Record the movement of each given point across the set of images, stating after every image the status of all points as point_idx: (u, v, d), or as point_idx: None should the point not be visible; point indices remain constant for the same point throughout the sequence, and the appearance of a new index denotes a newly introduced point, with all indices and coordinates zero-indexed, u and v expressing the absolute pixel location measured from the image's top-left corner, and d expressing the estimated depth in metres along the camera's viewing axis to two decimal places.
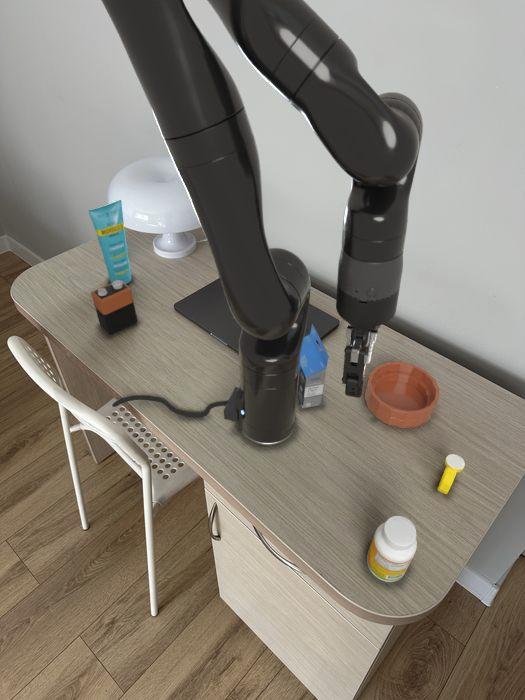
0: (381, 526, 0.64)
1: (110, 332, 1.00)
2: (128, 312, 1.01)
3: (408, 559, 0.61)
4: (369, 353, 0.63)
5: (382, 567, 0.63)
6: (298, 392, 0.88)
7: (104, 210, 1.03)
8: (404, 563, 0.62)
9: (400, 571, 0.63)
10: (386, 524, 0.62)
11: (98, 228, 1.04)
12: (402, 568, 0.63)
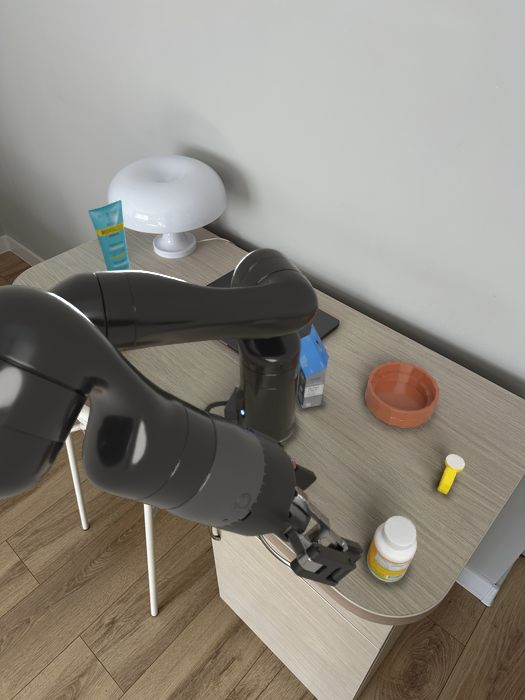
0: (381, 526, 0.64)
1: None
2: None
3: (408, 559, 0.61)
4: (319, 520, 0.40)
5: (382, 567, 0.63)
6: (298, 392, 0.88)
7: (104, 210, 1.03)
8: (404, 563, 0.62)
9: (400, 571, 0.63)
10: (386, 524, 0.62)
11: (97, 228, 1.04)
12: (402, 568, 0.63)
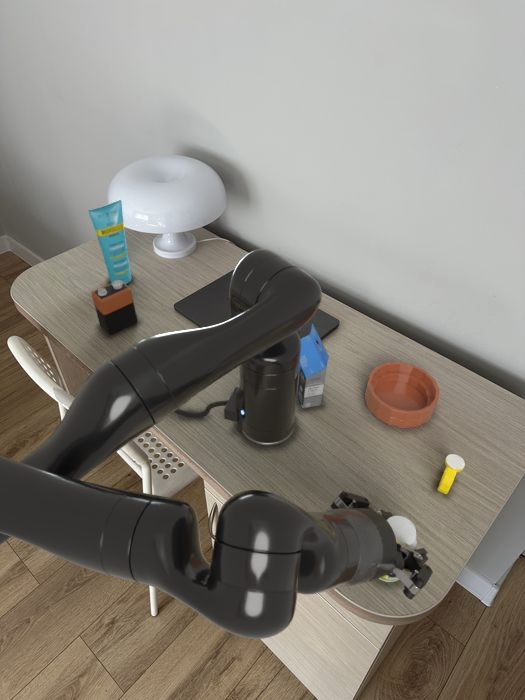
0: None
1: (110, 332, 1.00)
2: (128, 312, 1.01)
3: None
4: (407, 551, 0.57)
5: None
6: (298, 392, 0.88)
7: (104, 210, 1.03)
8: None
9: None
10: None
11: (97, 228, 1.04)
12: None
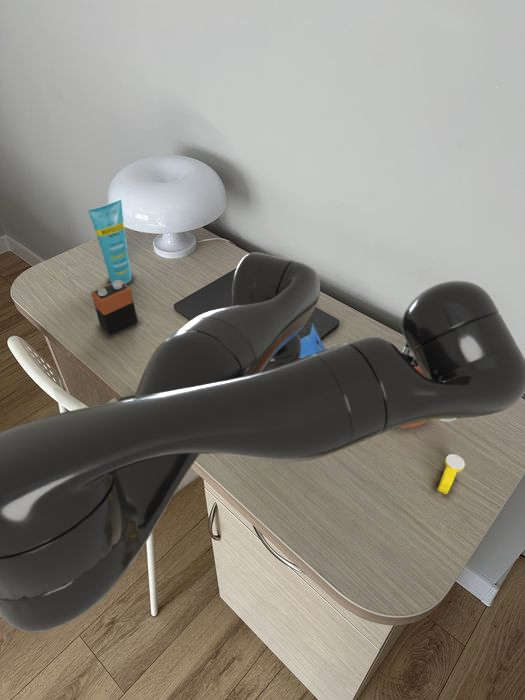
0: None
1: (110, 332, 1.00)
2: (128, 312, 1.01)
3: None
4: None
5: None
6: None
7: (104, 210, 1.03)
8: None
9: None
10: None
11: (97, 228, 1.04)
12: None
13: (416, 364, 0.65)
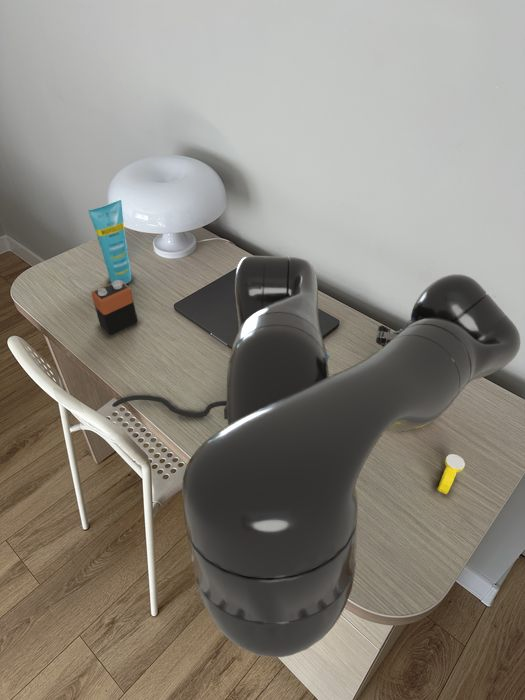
0: None
1: (110, 332, 1.00)
2: (128, 312, 1.01)
3: None
4: None
5: None
6: None
7: (104, 210, 1.03)
8: None
9: None
10: None
11: (97, 228, 1.04)
12: None
13: None
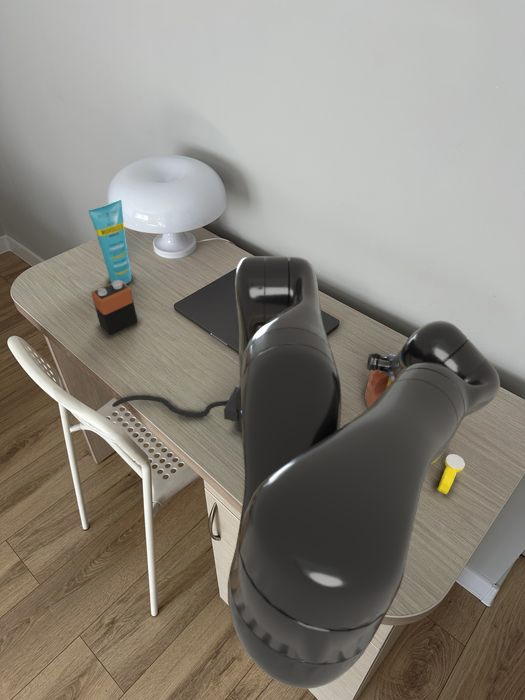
0: None
1: (110, 332, 1.00)
2: (128, 312, 1.01)
3: None
4: None
5: None
6: None
7: (104, 210, 1.03)
8: None
9: None
10: None
11: (97, 228, 1.04)
12: None
13: None
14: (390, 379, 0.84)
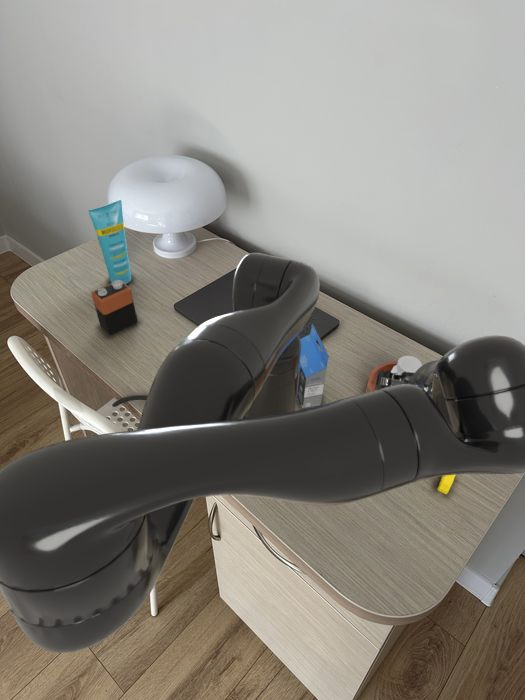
0: (393, 372, 0.83)
1: (110, 332, 1.00)
2: (128, 312, 1.01)
3: None
4: None
5: None
6: (298, 392, 0.88)
7: (104, 210, 1.03)
8: None
9: None
10: (400, 365, 0.81)
11: (97, 228, 1.04)
12: None
13: None
14: None
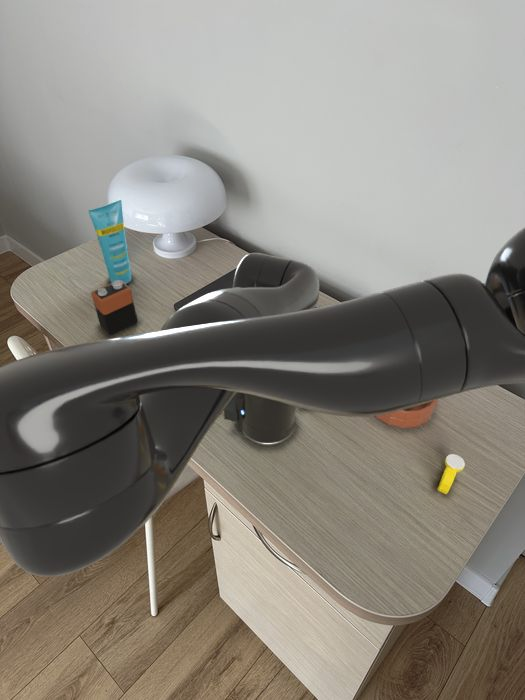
0: None
1: (110, 332, 1.00)
2: (128, 312, 1.01)
3: None
4: None
5: None
6: None
7: (104, 210, 1.03)
8: None
9: None
10: None
11: (97, 228, 1.04)
12: None
13: None
14: None
